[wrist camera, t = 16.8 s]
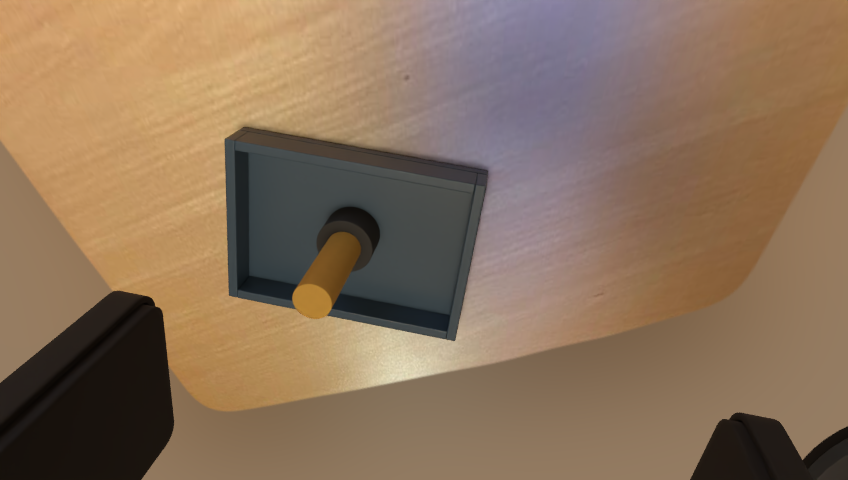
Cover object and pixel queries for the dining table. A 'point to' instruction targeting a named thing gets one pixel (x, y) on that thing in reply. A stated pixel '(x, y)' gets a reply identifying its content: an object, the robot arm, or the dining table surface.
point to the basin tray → (362, 188)
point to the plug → (336, 259)
